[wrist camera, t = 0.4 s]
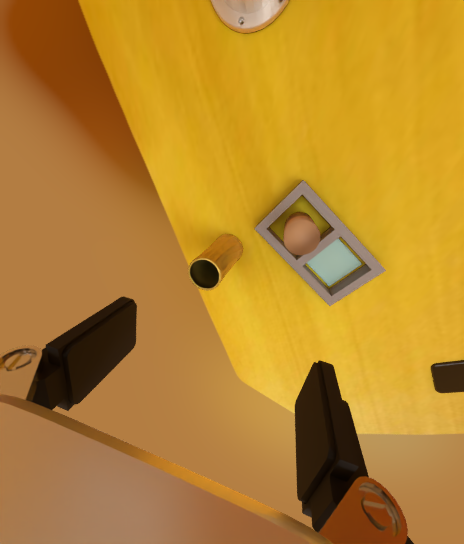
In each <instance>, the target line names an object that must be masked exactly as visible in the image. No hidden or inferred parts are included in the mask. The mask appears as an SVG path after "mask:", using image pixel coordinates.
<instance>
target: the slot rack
mask: <svg viewBox="0 0 464 544" xmlns="http://www.w3.org/2000/svg"><path fill="white" fill-rule="evenodd" d="M301 195H303V196H304V197H305V198H306V199H307V200H308V201H309V202H310V204H311V205H312V206H313V207H314V208H315V209H316V210H317V211H318V212H319V213H320V214H321V215H322V217H323V218H324V219H325V220H326V221H327V222H328V223H329V224H330V225H331V226H332V227H330V228H329V229H328V230H327V231H326V232H324V233H323V234H322V235H321V236H320V242H319V244H318V246H317V248H316V249H315V250H314V251H312V252H311V253H309V254H306V255H295V254H293V253H291V252H290V251H289V250H288V249H287V248H286V246H285V244H284V242H283V241H282V240H281V239H280V238H279V237H278V236H277V235H276V234H275V233H274V232H273V231H272V230H271V229H270V228H269V226H270V225H271V224H272V223H273V222H274V221H275V220H276V219H277V218H278V217H279V216H280V215H281V214H282V213H283V212H284V211H285V210H286V209H288V208H289V207H290V206H291V205H292V204H293V203H294V202H295V201H296V200H297V199H298V198H299V197H300V196H301ZM255 230H256V231H257V232H258V233H259V234H260V235H261V236H262V237H263V238H264V239H265V240H266V241H267V242H268V243H269V244H270V245H271V246H272V247H273V248H274V249H275V250H276V251H277V252H278V253H279V254H280V255H281V256H282V258H283V259H284V260H285V261H286V262H287V263H288V264H289V265H290V266H291V267H292V268H293V269H294V270H295V271H296V272H297V273H298V274H299V275H300V276H301V277H302V278H303V279H304V280H305V281H306V282H307V283H308V284H309V285H310V286H311V287H312V288H313V289H314V290H315V291H316V292H317V293H318V295H319V296H320V297H321V298H322V299H323V300H324V301H325V302H326V303H327V304H328V305H329V306H331V305H332V304H334V303H336V302H337V301H339V300H340V299H342V298H343V297H345V296H347V295H348V294H350V293H351V292H353V291H354V290H356V289H358V288H359V287H361V286H362V285H364V284H365V283H367V282H369V281H370V280H372V279H373V278H375V277H376V276H378V275H380V274H381V273H383V272H384V271H386V270H385V269H384V268H383V267H382V266H381V264H380V263H379V262H378V261H377V260H376V259H375V258H374V257H373V256H372V255H371V253H370V252H369V251H368V250H367V249H366V248H365V247H364V246H363V245H362V244H361V243H360V241H359V240H358V239H357V238H356V237H355V236H354V235H353V234H352V233H351V232H350V230H349V229H348V228H347V227H346V226H345V225H344V224H343V223H342V222H341V221H340V220H339V218H338V217H337V216H336V215H335V214H334V213H333V212H332V211H331V210H330V209H329V207H328V206H327V205H326V204H325V203H324V202H323V201H322V200H321V199H320V198H319V197H318V195H317V194H316V193H315V192H314V191H313V190H312V189H311V188H310V187H309V186H308V184H307V183H306V182H305V181H304V180H302V181H301V182H300V183H299V184H298V185H297V186H296V187H295V188H294V189H293V190H292V191H291V192H290V193H289V194H288V195H287V196H286V197H285V198H284V199H283V200H282V201H281V202H280V203H279V204H278V205H277V206H276V207H275V208H274V209H273V210H272V211H271V212H270V213H269V214H268V215H267V216H266V217H265V218H264V219H263V220H262V221H261V222H260V223H259V224H258V225H257V226H256V227H255ZM340 236H341V237H342V238H343V239H344V240H345V241H346V243H347V244H348V245H349V246H350V247H351V248H352V249H353V250H354V251H355V252H356V253H357V255H358V256H359V257H360V258H361V259H362V260H363V261H364V262H365V263H366V264H365V265H364V266H362V267H361V268H359V269H358V270H356V271H355V272H353V273H352V274H350V275H349V276H347V277H346V278H344V279H343V280H342V281H340V282H339V283H337V284H336V285H334V286H333V287H331V288H330V289H328V288H327V287H326V286H325V285H324V284H323V283H322V282H321V281H320V280H319V279H318V278H317V277H316V275H315V274H314V273H313V272H312V271H311V270H310V269H309V268H308V267H307V266H306V265H305V264H306V263H307V264H308V265H309V266H310V267H311V268H312V269H313V270H314V271H315V272H316V273H317V274H318V275H319V276H320V277H321V278H322V279H323V280H324V281H325V282H326V283H327V284H328V286H331V285H332V284H334V283H335V282H337V281H338V280H339V279H341V278H342V277H344V276H345V275H347V274H348V273H350V272H351V271H353V270H354V269H356V268H357V267H358V266H360V265H361V264H362V263H361V262H360V261H359V260H358V259H357V258H356V257H355V256H354V255H353V254H352V252H351V251H350V250H349V249H348V248H347V247H346V246H345V245H344V244H343V243H342V242H341V241H340V240H339V237H340Z"/></svg>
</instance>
